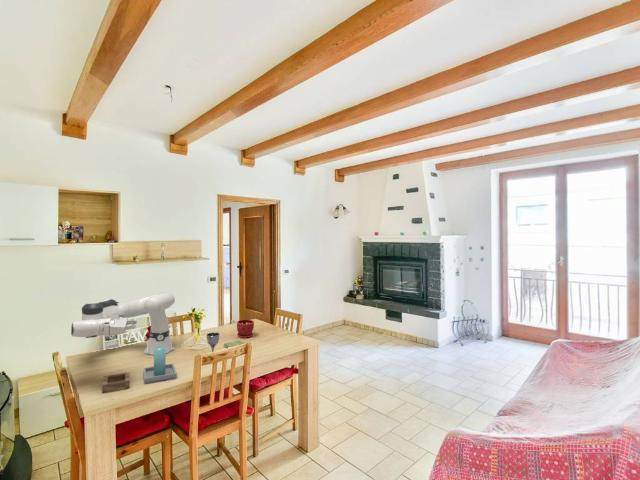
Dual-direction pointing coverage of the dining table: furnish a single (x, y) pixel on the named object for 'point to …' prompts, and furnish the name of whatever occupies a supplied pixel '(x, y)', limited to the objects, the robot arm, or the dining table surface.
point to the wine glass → (212, 339)
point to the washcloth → (233, 344)
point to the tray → (169, 374)
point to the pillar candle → (159, 360)
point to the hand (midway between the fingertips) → (136, 324)
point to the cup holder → (116, 382)
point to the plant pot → (245, 328)
